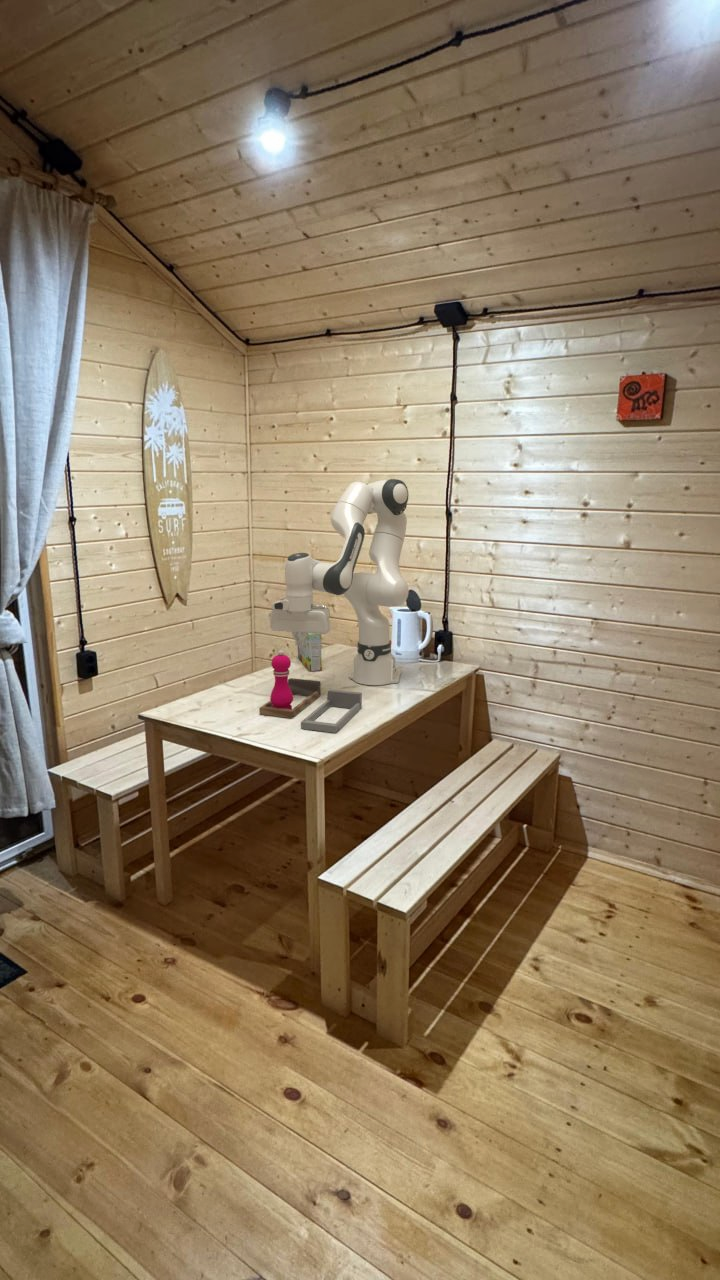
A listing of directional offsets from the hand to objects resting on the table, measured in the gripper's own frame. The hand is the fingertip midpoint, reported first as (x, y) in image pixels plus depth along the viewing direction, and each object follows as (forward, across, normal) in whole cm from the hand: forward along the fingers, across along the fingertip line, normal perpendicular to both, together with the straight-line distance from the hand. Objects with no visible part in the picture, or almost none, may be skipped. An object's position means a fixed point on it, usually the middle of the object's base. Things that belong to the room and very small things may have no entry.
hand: (300, 645), depth 227 cm
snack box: (+19, +14, -40) cm, 46 cm away
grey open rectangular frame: (+18, -17, +16) cm, 29 cm away
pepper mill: (+18, 0, +15) cm, 24 cm away
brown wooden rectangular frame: (+18, 0, +8) cm, 20 cm away
